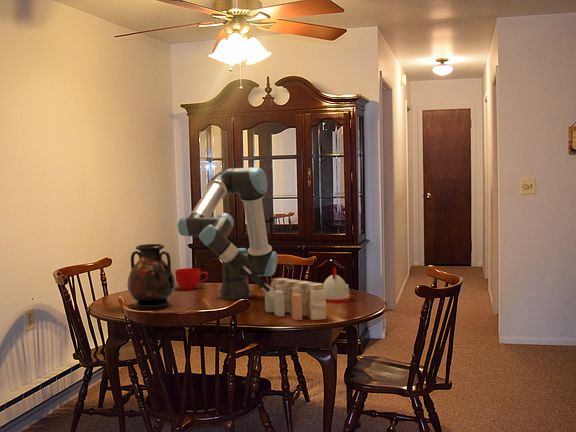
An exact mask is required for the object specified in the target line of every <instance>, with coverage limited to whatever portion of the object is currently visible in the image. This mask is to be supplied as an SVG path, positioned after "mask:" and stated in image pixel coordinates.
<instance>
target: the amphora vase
mask: <svg viewBox="0 0 576 432" xmlns="http://www.w3.org/2000/svg"><path fill="white" fill-rule="evenodd" d="M135 249H136V250H135V251H133V252H132V253H131V256H130V267H131V268H130V272H129V275H128V278H127V292H128V294H129V295H130V296H131V297H132V299H133V300H135V302H134V303H133V306H134V307H135V308H136V309H140V310H156V309H157V310H158V309H163V308H167V307H169V306H170V305H171V300H170V299H169V298H170V297H172V295H173V293H174V292H175V289H176V277H175V273H174V271H173V270H172V263H171V262H172V259H171V254H170V253H169V252H168V251H165V250H163V249H165V245H164V244H159V243H149V244H148V243H146V244H138V245H136V246H135ZM161 250H163V251H161ZM136 255H137V256H138V258H139V259H138V260H137V261H136V263H135V256H136ZM163 255H165V257H166V259H167V260H166V261H167V262H166V261H165V260H164V259H163Z"/></svg>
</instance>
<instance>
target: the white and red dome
mask: <svg viewBox="0 0 576 432" xmlns="http://www.w3.org/2000/svg"><path fill="white" fill-rule="evenodd" d="M323 284H324V290H326V302H327V303H326V304H328V303H329V304H341V303H346V302H347V303H348V302H349V301H350V300H351V296H350V289H349V283H348V284H347V283H346V281H345V280H344V279H343V278H342V277H341V276H340V275H338V274H337V268H336V267H333V268H332V274H331V275H329V276H328V277H327V278H326V279H325V280H324V282H323Z"/></svg>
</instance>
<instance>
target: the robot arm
mask: <svg viewBox="0 0 576 432" xmlns="http://www.w3.org/2000/svg"><path fill="white" fill-rule="evenodd" d="M267 191H268V178H267V175H266V173H265V171H264V170H263V168H260V167H252V166H251V167H230V168H229V167H228V168H226V169H223V170H221V171H219V172H218V173H216V174H215V175H213V177H211V178H210V180H209V181H208V183H207V184H206V190H205V192H204V193H203V194H202V196H201V198H199V201H198V202H197V204H196V205H195V207H194V208H193V210H192V211H191V213H190V214H189V215H188V217H187V216H186V217H181V218H179V220H178V222H177V231H178V233H179V235H180V236H184V237H198V239H199V240H200V241H201V242H202V243H203V245H204V246H206V247H207V248H208V249H209V250H210V251H212V252H213V253H214V254H215V255H216V256H217V257H218V260H219V261H221V262H222V263H221V264H222V284H221V287H220V291H219V298H220V299H223V300H231V301H232V300H233V301H234V300H242V299H241V298H245V299H249V298H251V297H252V291H251V288H250V285H249V282H248V278H249V279H250V280H251V281H252V282H254V283H255V285H256V286H258V289H259V290H260V289H261V290H263V292H264V293H265V292H266V293H267V294H268V295H269V296H270V297H271V298H273V297H274V296H275V295H276V294H277V293H276V292H275V291H274V290H273V289H271V288H270V287H271V286H270V285H268V283H266V280H265V279H262V278H261V277H271V276H273V275H274V274H275V272H276V270H277V266H278V253H277V252H276V251H273V247H272V245H270V244H269V241H268V235H267V233H268V232H267V228H266V220H265V213H264V206H263V200H262V199H263V198H264V197H265V194H266V193H267ZM232 194H233V195H235V194H236V195H238V199H239V200H240V201H242V202H243V209H244V215H245V222H246V228H247V236H248V241H249V247H248V248H246V247H239V248H238V247H236V246H235V244H233V243H232V242H231V241H230V240H229V239H228V236H229V235H230V233H231V231H232V230H233V228H234V225H235V223H234V218H233V217H232V215H230V214H229V213H226V212H222V213H220V214H218V215H217V216H216V217H211V216H212V214H213V213H214V211H215V210H216V208H217V206H218V205H219V203H220V202H221V200H222V199H223V198H225V197H226V196H227V195H232Z"/></svg>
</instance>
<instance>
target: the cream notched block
mask: <svg viewBox="0 0 576 432" xmlns="http://www.w3.org/2000/svg"><path fill="white" fill-rule="evenodd" d="M270 287H272V288H274V291H277V290H281V291H283V292H284V312H285V313H289V314H290V315H291V316H292V304H291V294H292V293H299V294H301V295H302V317H304V316H305V317H307V318H308V319H310V320H312V321H315V320H316V321H317V320H326V319H327V303H326V290H324V283H321V282H314V281H313V282H312V281H306V280H301V279H293V278H286V277H285V278H284V277H277V278H276V277H275V278H271V282H270Z"/></svg>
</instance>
